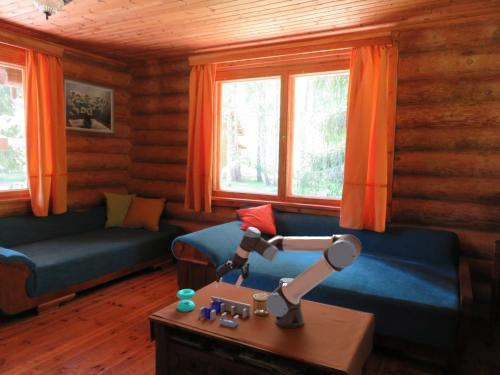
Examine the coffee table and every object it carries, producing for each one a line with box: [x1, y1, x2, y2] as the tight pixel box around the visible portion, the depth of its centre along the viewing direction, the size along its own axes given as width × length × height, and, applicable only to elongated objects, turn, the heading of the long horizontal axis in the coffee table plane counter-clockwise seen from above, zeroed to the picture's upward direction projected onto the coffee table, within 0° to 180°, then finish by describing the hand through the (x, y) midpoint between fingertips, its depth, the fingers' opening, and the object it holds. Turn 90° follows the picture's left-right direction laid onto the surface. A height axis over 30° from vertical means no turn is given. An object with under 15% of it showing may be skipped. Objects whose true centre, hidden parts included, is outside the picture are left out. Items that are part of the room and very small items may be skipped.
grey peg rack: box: [198, 295, 252, 328], centre depth 199 cm, size 25×16×6 cm, turn 64°
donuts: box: [176, 288, 196, 312], centre depth 208 cm, size 10×10×10 cm
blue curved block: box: [203, 300, 222, 320], centre depth 202 cm, size 12×4×6 cm, turn 150°
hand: (226, 286), depth 195 cm, fingers open, 13 cm apart
